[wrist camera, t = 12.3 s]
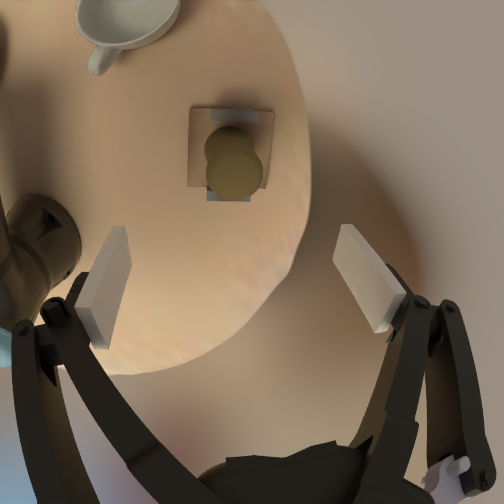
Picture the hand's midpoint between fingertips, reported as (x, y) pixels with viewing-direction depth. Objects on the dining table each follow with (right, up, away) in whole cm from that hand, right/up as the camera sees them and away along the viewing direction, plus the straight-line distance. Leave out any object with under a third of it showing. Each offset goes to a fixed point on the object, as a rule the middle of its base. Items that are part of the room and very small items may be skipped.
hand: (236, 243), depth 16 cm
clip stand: (-2, +13, +17) cm, 21 cm away
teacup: (-13, +26, +6) cm, 30 cm away
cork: (-2, +12, +16) cm, 20 cm away
